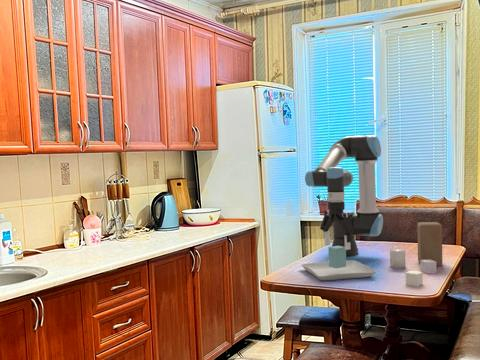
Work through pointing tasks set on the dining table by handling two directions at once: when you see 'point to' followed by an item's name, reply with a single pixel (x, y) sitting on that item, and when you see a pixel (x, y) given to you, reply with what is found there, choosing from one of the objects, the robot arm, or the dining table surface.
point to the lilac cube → (428, 266)
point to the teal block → (337, 257)
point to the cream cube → (414, 278)
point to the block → (430, 242)
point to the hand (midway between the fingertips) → (337, 247)
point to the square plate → (339, 270)
